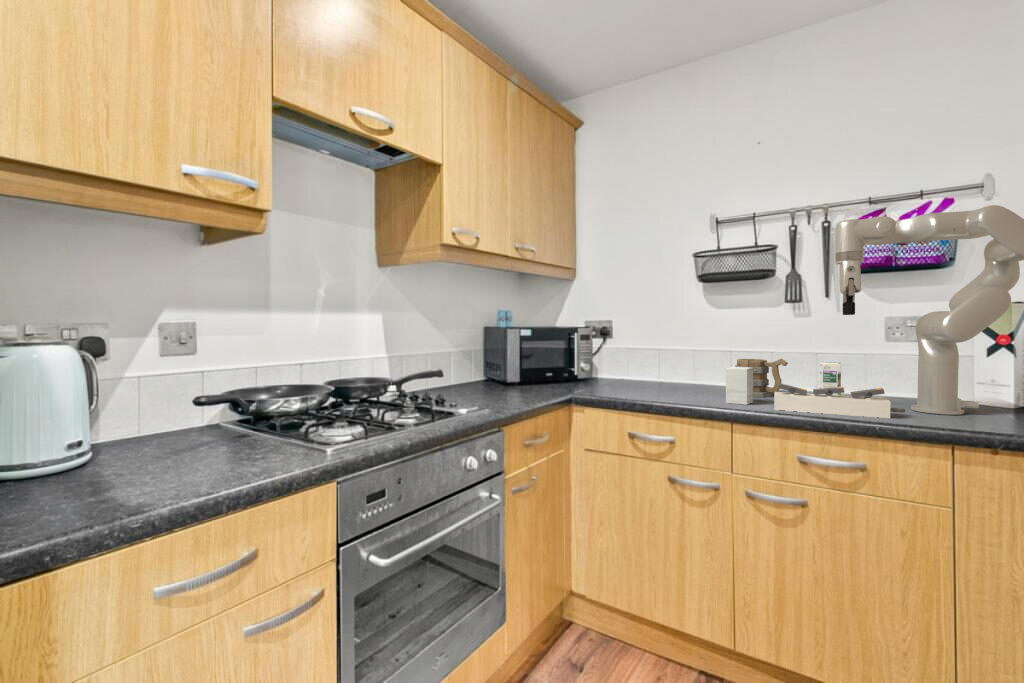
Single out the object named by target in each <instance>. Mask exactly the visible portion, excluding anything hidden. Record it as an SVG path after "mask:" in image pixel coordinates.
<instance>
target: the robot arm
mask: <svg viewBox="0 0 1024 683" xmlns="http://www.w3.org/2000/svg"><path fill="white" fill-rule="evenodd" d="M986 236H987V237H988V236H990V237H991V238H992V240H990V241H989V242H988V243H987V244H986V245H985V246H984V250H983V256H984V261H985V262H984V264H985V265H984V268H983V270H982V271H981V272H980V273H979V274H978V275H977V276H976V277H975V278H974V279H972V280H971V281H970V282H969V283H968V284H966V285H965V286H963V287H962V288H961V289H960V290H958V291H957V292H956V293H954V294H953V296H952V297H951V298H950V300H949V302H948V308H949V310H943V311H942V310H940V311H931V312H929V313H925V314H924V315H923V316H921V317H920V318H919V319H918V321H917V322H916V325H915V335H916V341H917V345H918V346H917V347H918V349H917V350H918V357H917V358H918V361H917V402H916V404H912V405H911V406H910V410H913V411H915V412H918V413H919V412H921V413H926V414H934V415H935V414H938V415H949V416H951V415H953V416H956V415H957V416H960V415H964V414H965V408H968V409H969V408H970V409H980V408H979V407H980V404H979V402H977V401H965V400H963V399H961V398H959V394H958V393H959V362H960V355H959V349H958V345H957V343H963V342H967V341H970V340H971V339H973V338H975V337H976V336H978V335H979V334H981V333H982V332H983V331H984V330H986V329H988V327H989V326H991V325H992V324H993V323H995V322H996V321H997V320H998V319H1000V318H1001V317H1002V316H1004V314H1006V313H1007V311H1008V310H1009V308H1010V306H1011V303H1012V297H1011V294H1010V291H1011V290H1012V289H1013V288H1014V287H1015V286H1016V285H1017V283H1018V281H1019V279H1020V274H1021V272H1020V271H1021V270H1020V269H1021V268H1020V266H1021V265H1020V262H1021V261H1024V218H1023V217H1022V216H1020V215H1018V213H1015V212H1014V211H1012V210H1011V209H1008V208H1006V207H1005V206H1003V205H1002V206H1001V205H999V204H998V205H995V204H990V205H986V206H984V207H981V208H980V207H979V208H978V209H973V210H962V211H961V210H960V211H948V212H947V211H946V212H931V213H929V212H928V213H926V214H924V213H923V214H920V215H917V216H913V217H909V218H905V219H898V220H895V219H894V218H892V217H890V216H886V215H882V216H881V215H880V216H879V215H878V216H874V217H869V218H863V219H860V218H854V219H853V218H851V219H844V220H840V221H839V222H837V223H836V224H835V251H834V252H835V253H834V254H835V255H834V258H835V259H834V260H835V261H834V262H835V265H839V273H838V276H839V278H838V279H839V293H840V294H842V316H854V315H855V314H856V301H855V300H856V299H855V297H856V294H858V293H860V292H861V291H862V273H861V268H862V267H861V263H864V248H865V247H864V245H866V246H867V245H868V246H873V245H878V246H879V245H892V244H893V245H895V244H904V243H905V244H907V243H921V242H930V241H931V242H933V241H951V240H971V239H972V240H973V239H979V238H984V237H986Z"/></svg>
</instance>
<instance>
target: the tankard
mask: <svg viewBox="0 0 1024 683" xmlns="http://www.w3.org/2000/svg"><path fill="white" fill-rule="evenodd" d="M780 365H782V366H783V367H786V366H788V361H786V360H785V359H783V358H780V359H777V360H775V361H771V362H770V361H769V362H768V360H766V359H762V358H761V359H760V358H738V359H736V364H735V366H734V367H749V368H753V398H768V397H771V396H772V393H775V392H780V389H779V388H778V386H779V383H781V384H782V382H783V381H782V378H781V375H780V372H779V371H780V370H779V366H780ZM770 367H771V373H772V377H773V379H774V385H773V387H771V386H769V385H770V380H769V378H768V374H769V372H770Z"/></svg>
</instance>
